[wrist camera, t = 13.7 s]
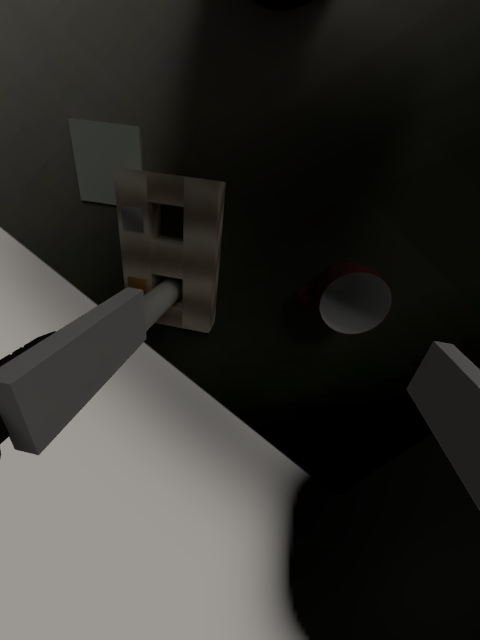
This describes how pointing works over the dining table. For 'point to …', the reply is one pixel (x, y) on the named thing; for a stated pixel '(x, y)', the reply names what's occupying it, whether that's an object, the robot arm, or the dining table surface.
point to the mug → (349, 298)
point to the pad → (103, 156)
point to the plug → (161, 299)
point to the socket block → (172, 240)
